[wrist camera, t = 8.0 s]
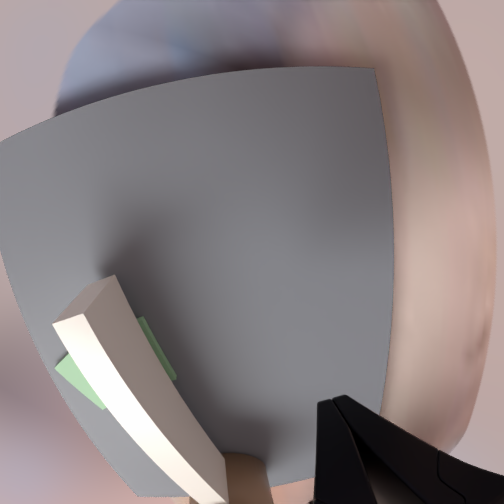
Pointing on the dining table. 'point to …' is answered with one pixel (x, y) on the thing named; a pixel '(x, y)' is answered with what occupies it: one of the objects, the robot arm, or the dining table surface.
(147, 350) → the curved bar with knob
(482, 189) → the dining table surface
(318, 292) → the dial plate
